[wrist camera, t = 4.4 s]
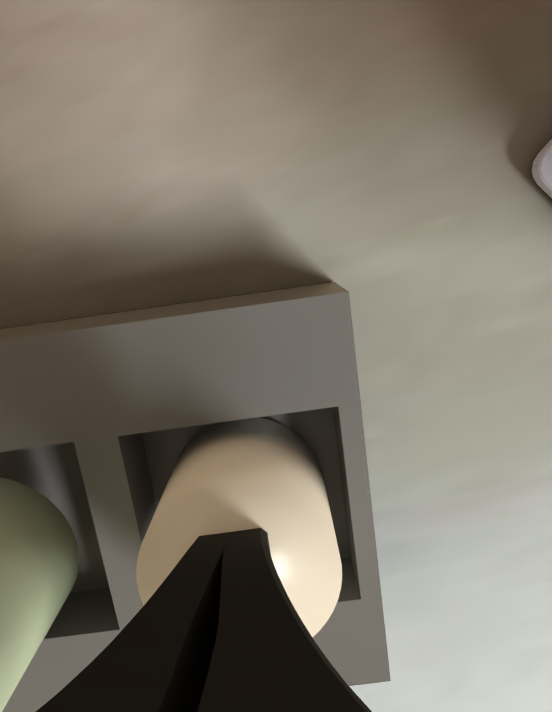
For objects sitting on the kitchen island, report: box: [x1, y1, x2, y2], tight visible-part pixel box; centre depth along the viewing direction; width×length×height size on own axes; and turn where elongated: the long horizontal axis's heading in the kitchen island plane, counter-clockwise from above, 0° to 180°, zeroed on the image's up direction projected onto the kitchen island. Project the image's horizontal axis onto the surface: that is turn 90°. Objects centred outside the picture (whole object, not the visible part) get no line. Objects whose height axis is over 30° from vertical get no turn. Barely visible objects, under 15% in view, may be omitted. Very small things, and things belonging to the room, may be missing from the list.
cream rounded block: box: [136, 417, 342, 638], centre depth 12 cm, size 4×4×4 cm
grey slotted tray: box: [0, 282, 390, 712], centre depth 13 cm, size 18×10×2 cm, turn 98°
